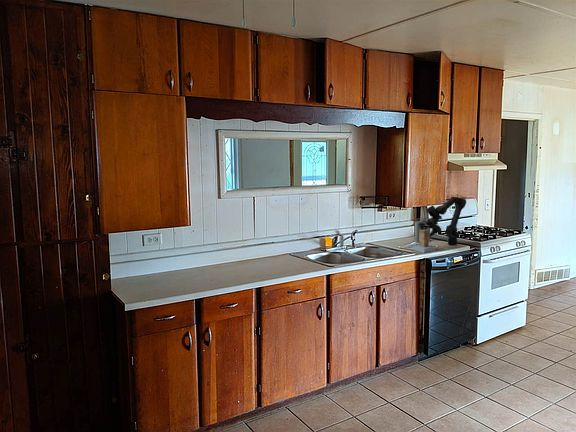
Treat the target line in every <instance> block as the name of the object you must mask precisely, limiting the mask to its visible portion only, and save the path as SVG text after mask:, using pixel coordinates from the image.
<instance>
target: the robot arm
mask: <svg viewBox="0 0 576 432" xmlns="http://www.w3.org/2000/svg"><path fill="white" fill-rule="evenodd" d="M466 204H467V199H465V198H460V197H457V196H451V197H450V198H449V199H448V200H447V201H445V202H444V203H443V204H441V205H438V206H436V207H435V206H434V205H431V206H429V207H428V208H427V209H426V212H427V214H428V215H429V217H430V218H429V217H423V218H424V221H423V222H426V224H427V225H425V223H420V224H419V226H420V228H421V230H423V229H424V230H426V229H427V228H430V235H429V237H430V238H431V237H432V236H434V235H436V234H438V233H439V234H440V233H441V232H442V228H441V226H440V225H439V224H438V222H439V220H443V217H442V215H443V216H444V215H445V214H446V213H447V211H448V209H449V208H451V207H452V206H453V205H454V207H455V209H454V211H453V215H452V217H451V220H450V224H449V225H447V226H446V228H445V235H446V237H447V244H448V246H458V238H460V234H459V233H458V227H457V226H458V223H459V220H460V216H461V214H462V210H463V209H464V208H465V207H466V206H467V205H466Z"/></svg>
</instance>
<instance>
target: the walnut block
mask: <svg viewBox="0 0 576 432" xmlns="http://www.w3.org/2000/svg"><path fill="white" fill-rule="evenodd" d="M429 242H430V241H429V230H424V229H423V230H419V243H418V245H419V247H428V246H430V245H429V244H430V243H429Z"/></svg>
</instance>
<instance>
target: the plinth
mask: <svg viewBox="0 0 576 432" xmlns="http://www.w3.org/2000/svg"><path fill="white" fill-rule="evenodd" d="M414 250H415V251H414ZM412 251H414V252H419V251H420V253H424V252H425V253H429V252H433V251H436V246H433V245H429V246H428V247H419V244H417V245H413V246H412Z"/></svg>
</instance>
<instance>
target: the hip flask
mask: <svg viewBox="0 0 576 432" xmlns="http://www.w3.org/2000/svg"><path fill="white" fill-rule="evenodd" d="M424 218H425V217H423V218H421V217H420V218H419V221H418V220H417V221H414V243H415V244H419V230H421V228H420V226H419V224H420V223H425V225H427V224H426V222H423V221H424ZM426 230H429V235H430V233H431V229H430V228H427V229H426ZM429 242H431V237H429Z"/></svg>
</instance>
